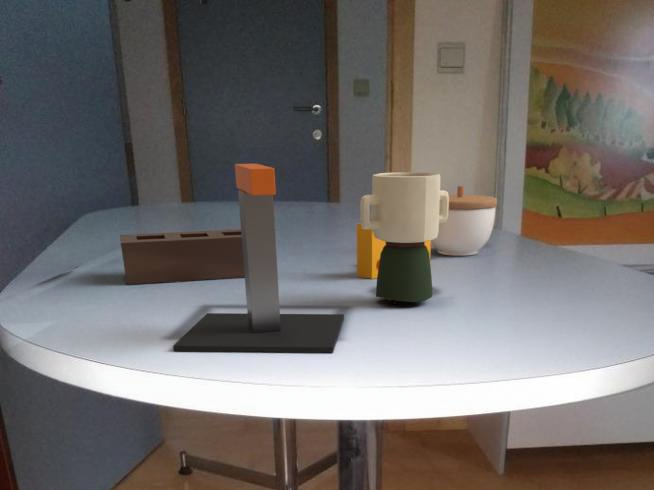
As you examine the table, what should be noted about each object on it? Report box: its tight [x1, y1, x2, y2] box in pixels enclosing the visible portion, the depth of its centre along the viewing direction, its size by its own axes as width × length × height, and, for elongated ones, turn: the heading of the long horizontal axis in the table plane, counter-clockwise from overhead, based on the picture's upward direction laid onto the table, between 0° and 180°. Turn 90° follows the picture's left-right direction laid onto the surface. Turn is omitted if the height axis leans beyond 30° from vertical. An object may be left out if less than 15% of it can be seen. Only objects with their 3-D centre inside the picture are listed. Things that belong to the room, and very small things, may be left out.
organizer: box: [119, 228, 245, 286], centre depth 93 cm, size 7×18×5 cm, turn 108°
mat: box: [172, 312, 345, 354], centre depth 68 cm, size 14×12×1 cm
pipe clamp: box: [356, 222, 432, 280], centre depth 95 cm, size 12×4×6 cm, turn 137°
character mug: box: [359, 171, 450, 305], centre depth 77 cm, size 11×7×13 cm, turn 121°
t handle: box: [234, 163, 281, 333], centre depth 64 cm, size 8×3×14 cm, turn 18°
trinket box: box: [431, 185, 498, 257], centre depth 107 cm, size 11×11×9 cm
